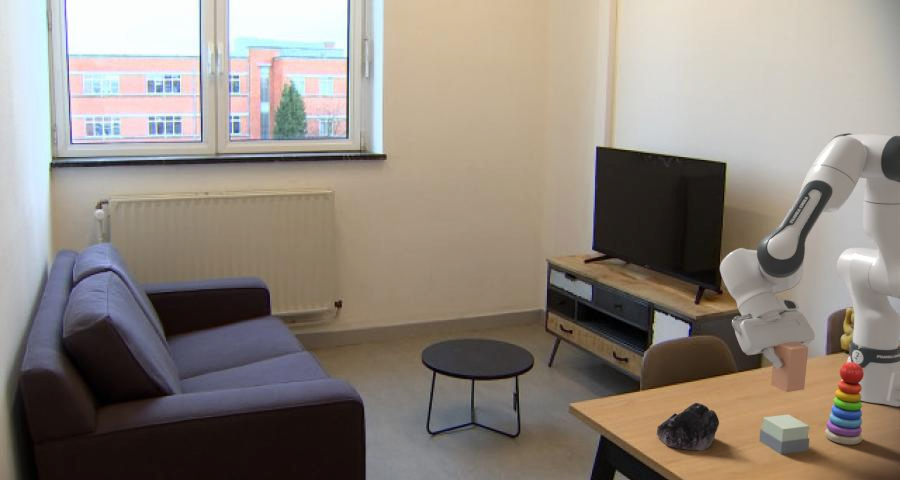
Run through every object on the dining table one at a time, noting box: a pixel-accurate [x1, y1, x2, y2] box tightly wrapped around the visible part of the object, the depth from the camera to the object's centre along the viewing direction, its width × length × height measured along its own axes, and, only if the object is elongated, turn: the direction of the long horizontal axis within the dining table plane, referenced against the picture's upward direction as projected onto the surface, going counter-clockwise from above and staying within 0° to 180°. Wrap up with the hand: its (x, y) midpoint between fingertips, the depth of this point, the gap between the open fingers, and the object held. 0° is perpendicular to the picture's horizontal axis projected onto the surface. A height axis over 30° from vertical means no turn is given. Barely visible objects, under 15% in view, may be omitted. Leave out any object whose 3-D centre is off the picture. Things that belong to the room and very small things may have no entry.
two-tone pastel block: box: [758, 414, 810, 455], centre depth 200 cm, size 8×8×6 cm
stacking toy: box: [824, 362, 864, 446], centre depth 203 cm, size 8×8×19 cm
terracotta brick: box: [770, 342, 809, 393], centre depth 198 cm, size 5×5×10 cm
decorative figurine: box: [840, 306, 854, 354], centre depth 268 cm, size 10×8×15 cm
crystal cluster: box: [656, 402, 720, 451], centre depth 202 cm, size 13×14×10 cm
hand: (791, 365), depth 197 cm, fingers closed on terracotta brick, 5 cm apart
